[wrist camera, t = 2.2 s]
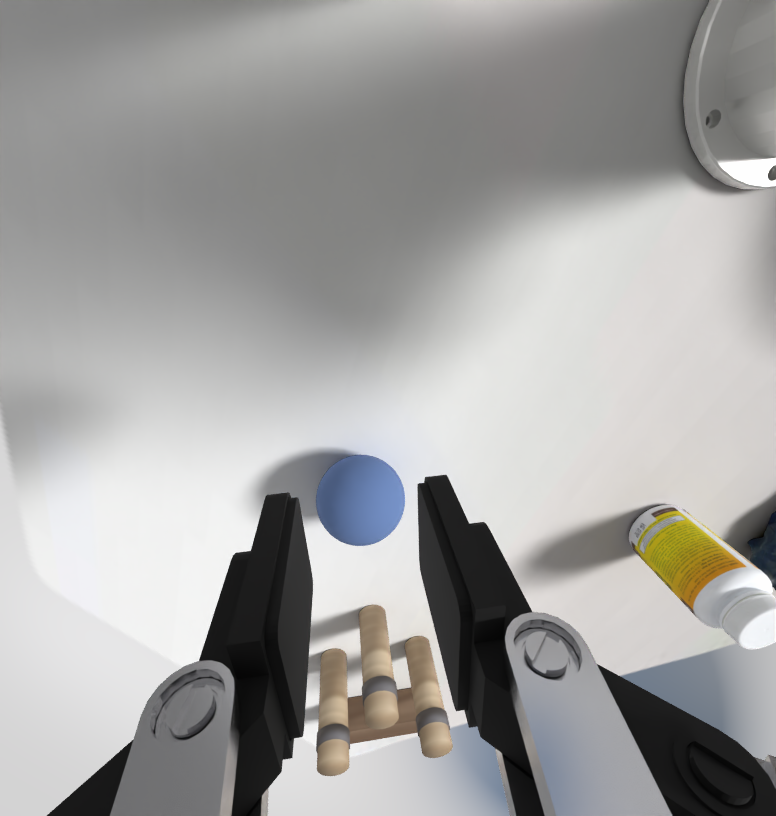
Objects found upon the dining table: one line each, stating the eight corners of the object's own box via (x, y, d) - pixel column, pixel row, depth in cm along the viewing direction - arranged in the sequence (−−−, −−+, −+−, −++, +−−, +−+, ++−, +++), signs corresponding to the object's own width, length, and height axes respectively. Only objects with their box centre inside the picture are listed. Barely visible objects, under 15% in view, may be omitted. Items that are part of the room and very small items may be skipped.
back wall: (330, 700, 40) (330, 734, 37) (427, 685, 41) (434, 717, 38) (332, 712, 41) (332, 746, 38) (428, 697, 42) (434, 729, 39)
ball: (313, 444, 28) (307, 494, 23) (396, 435, 29) (410, 482, 23) (323, 511, 31) (320, 572, 25) (399, 502, 31) (413, 559, 26)
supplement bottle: (613, 543, 36) (709, 651, 27) (649, 494, 34) (766, 593, 25) (659, 555, 37) (766, 662, 28) (696, 509, 35) (824, 607, 26)
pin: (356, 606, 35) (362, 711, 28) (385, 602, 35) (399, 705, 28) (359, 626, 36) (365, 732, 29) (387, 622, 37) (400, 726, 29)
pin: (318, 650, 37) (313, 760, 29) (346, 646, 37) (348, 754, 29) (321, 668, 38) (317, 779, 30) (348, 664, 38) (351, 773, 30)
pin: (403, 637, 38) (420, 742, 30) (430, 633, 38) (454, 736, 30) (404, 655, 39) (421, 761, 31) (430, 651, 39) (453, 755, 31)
